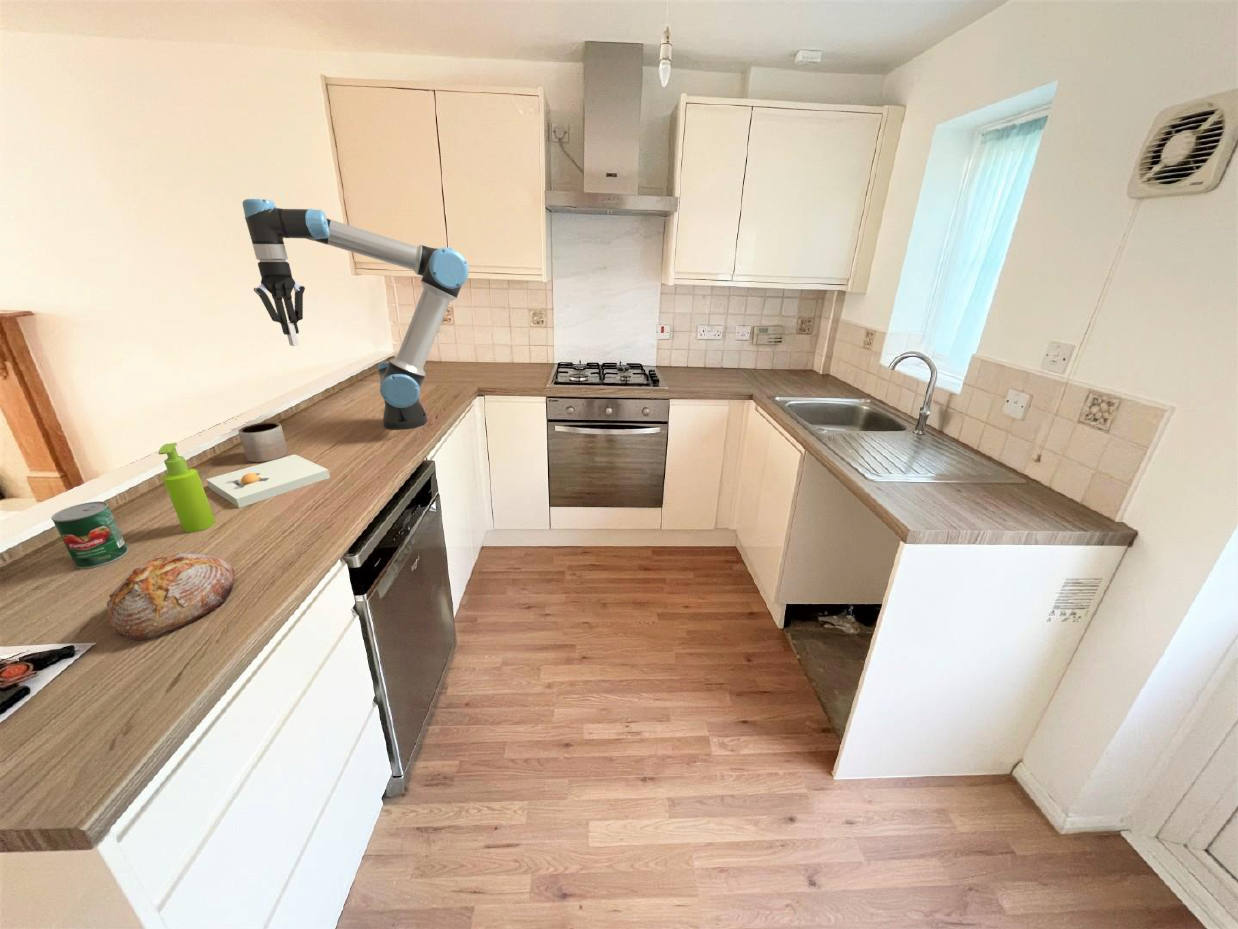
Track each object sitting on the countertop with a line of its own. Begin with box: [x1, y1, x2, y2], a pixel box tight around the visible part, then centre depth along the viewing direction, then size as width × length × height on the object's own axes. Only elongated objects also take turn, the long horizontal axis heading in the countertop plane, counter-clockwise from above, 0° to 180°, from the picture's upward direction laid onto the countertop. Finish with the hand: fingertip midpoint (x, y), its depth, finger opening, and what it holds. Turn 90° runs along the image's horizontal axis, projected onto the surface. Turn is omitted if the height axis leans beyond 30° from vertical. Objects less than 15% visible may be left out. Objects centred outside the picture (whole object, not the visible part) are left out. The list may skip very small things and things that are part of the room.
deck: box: [205, 453, 331, 509], centre depth 134 cm, size 22×20×2 cm
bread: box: [106, 552, 235, 641], centre depth 86 cm, size 16×20×10 cm
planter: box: [237, 421, 290, 464], centre depth 151 cm, size 11×11×10 cm
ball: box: [241, 473, 260, 485], centre depth 130 cm, size 4×4×4 cm
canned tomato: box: [50, 501, 129, 570], centre depth 99 cm, size 8×8×11 cm
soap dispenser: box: [157, 442, 217, 533], centre depth 109 cm, size 6×7×20 cm
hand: (294, 345), depth 149 cm, fingers closed
